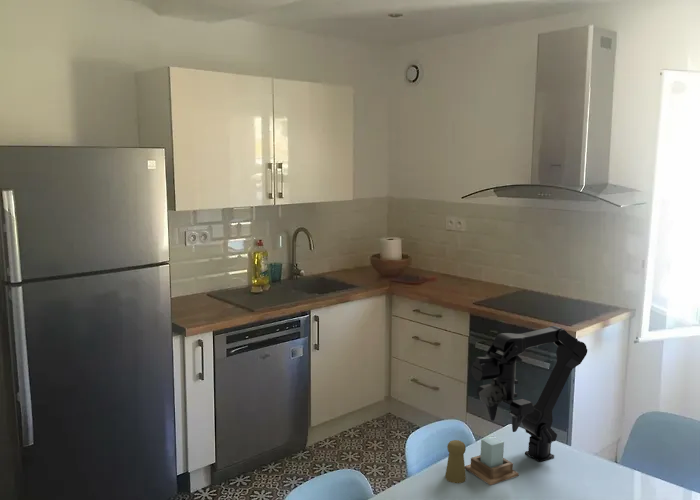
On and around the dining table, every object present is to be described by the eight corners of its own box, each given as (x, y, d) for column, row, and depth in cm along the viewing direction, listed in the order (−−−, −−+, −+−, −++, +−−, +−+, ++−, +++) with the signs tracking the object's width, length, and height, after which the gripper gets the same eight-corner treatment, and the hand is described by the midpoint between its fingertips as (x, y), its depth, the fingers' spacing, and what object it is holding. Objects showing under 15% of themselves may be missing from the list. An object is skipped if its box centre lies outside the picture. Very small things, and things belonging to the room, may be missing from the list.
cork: (465, 484, 173) (467, 447, 171) (444, 482, 174) (445, 445, 173) (466, 474, 179) (467, 438, 177) (445, 471, 180) (446, 436, 179)
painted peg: (491, 464, 183) (492, 436, 182) (502, 471, 179) (503, 442, 178) (480, 468, 181) (481, 439, 179) (490, 474, 177) (492, 445, 176)
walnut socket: (492, 460, 187) (492, 449, 187) (518, 475, 178) (519, 464, 177) (464, 468, 182) (465, 457, 181) (490, 485, 173) (490, 473, 172)
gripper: (463, 371, 186) (462, 420, 188) (507, 391, 170) (505, 444, 172) (491, 365, 191) (489, 413, 193) (536, 384, 175) (533, 435, 177)
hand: (503, 426), depth 184 cm, fingers open, 9 cm apart
